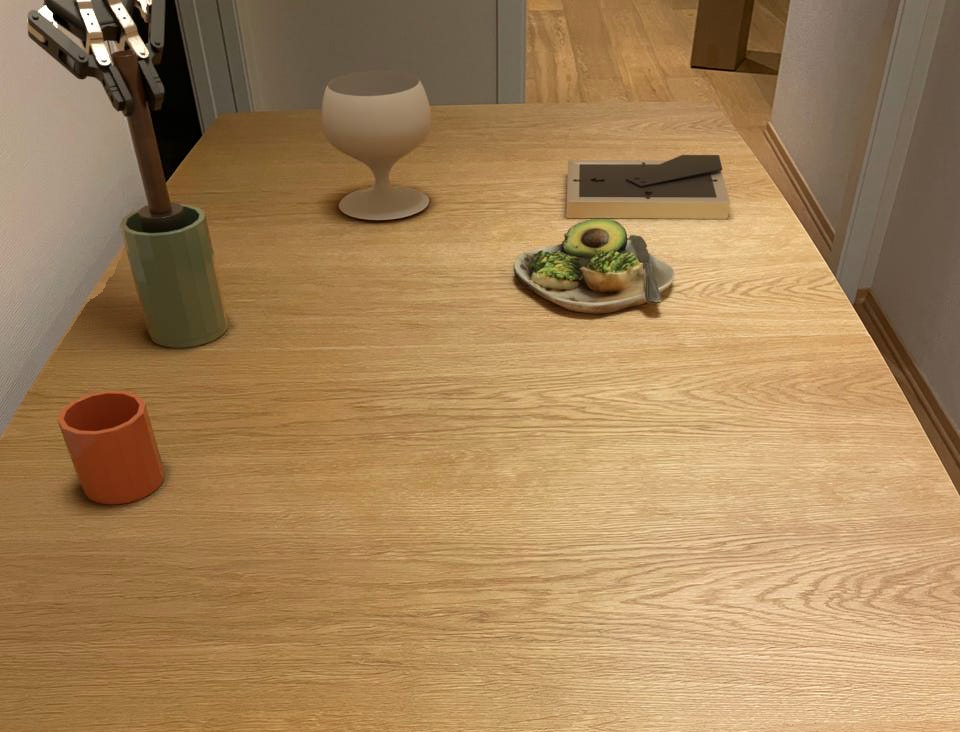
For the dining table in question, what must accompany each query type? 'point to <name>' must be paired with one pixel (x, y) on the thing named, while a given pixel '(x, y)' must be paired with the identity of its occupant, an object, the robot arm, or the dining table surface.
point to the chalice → (378, 136)
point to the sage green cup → (176, 280)
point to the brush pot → (112, 446)
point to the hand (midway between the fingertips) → (143, 107)
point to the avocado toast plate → (595, 269)
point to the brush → (147, 153)
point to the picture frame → (647, 188)
